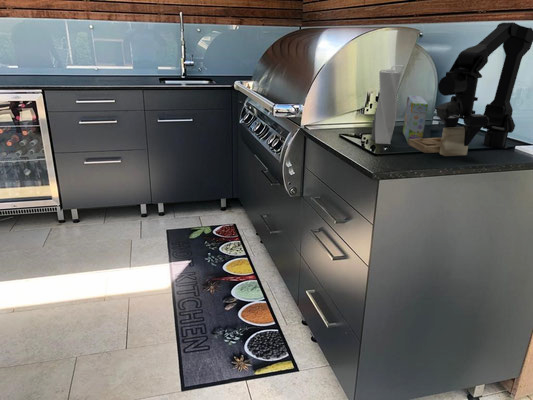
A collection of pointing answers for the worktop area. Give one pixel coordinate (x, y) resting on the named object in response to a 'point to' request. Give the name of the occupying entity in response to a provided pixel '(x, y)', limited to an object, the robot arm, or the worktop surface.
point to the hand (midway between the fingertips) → (457, 142)
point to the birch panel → (453, 142)
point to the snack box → (415, 117)
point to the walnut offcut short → (426, 143)
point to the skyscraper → (386, 106)
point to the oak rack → (423, 147)
